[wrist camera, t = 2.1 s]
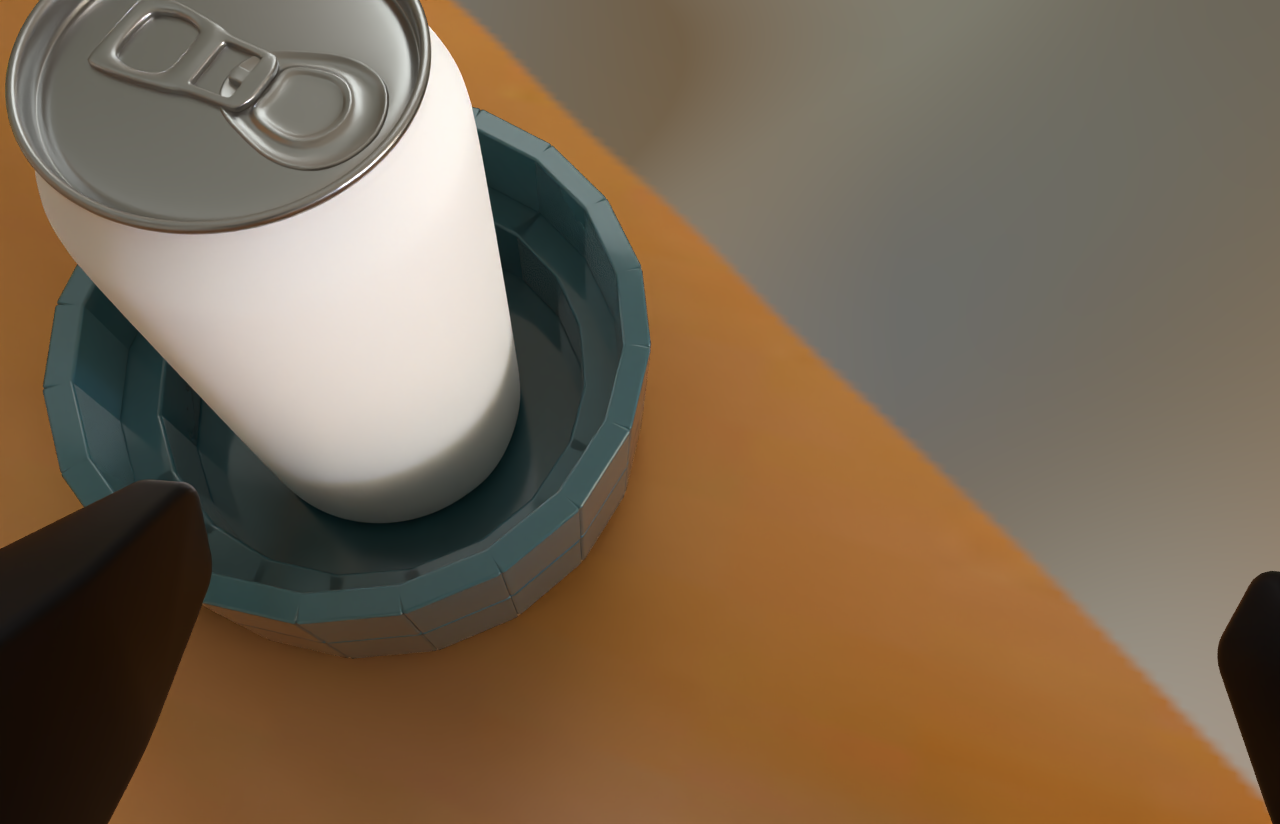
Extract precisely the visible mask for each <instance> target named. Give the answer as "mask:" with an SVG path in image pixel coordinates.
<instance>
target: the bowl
mask: <svg viewBox="0 0 1280 824" xmlns="http://www.w3.org/2000/svg"><path fill="white" fill-rule="evenodd" d="M472 110H473V115H474V119H475V124H476V128H477V133H478V138H479V143H480V149H481V154H482V159H483V165H484V170H485V176H486V181H487V187H488V193H489V198H490V204H491V210H492V215H493V221H494V227H495V232H496V238H497V244H498V250H499V255H500V261H501V267H502V273H503V279H504V285H505V291H506V296H507V302H508V308H509V314H510V320H511V326H512V332H513V338H514V345H515V351H516V357H517V364H518V371H519V379H520V405H519V412H518V416H517V421H516V424H515V428H514V431H513V434H512V437H511V439H510V442H509V444H508V446H507V449H506V451H505V452H504V454H503V456H502V458H501V460H500V461H499V463H498V464H497V466H496V467H495V469H494V470H493V471H492V472H491V474H490V475H489V476H488V477H487V478H486V479H485V480H484V481H483V482H482V483H481V484H480V485H478V486H477V487H476V488H475V489H473V490H472V491H471V492H469V493H468V494H467V495H465V496H464V497H462V498H461V499H459V500H458V501H456V502H454V503H452V504H451V505H449V506H447V507H445V508H443V509H441V510H439V511H436V512H434V513H431V514H428V515H425V516H422V517H419V518H415V519H411V520H406V521H400V522H392V523H366V522H358V521H352V520H347V519H343V518H340V517H337V516H334V515H331V514H328V513H326V512H324V511H321V510H319V509H317V508H316V507H314V506H312V505H310V504H309V503H307V502H306V501H304V500H303V499H301V498H300V497H299V496H297V495H296V494H295V493H294V492H293V491H291V490H290V489H289V488H288V487H287V486H286V485H285V484H284V483H283V482H282V481H281V480H280V479H279V478H278V477H277V476H276V475H275V474H274V473H273V472H272V471H271V470H270V469H269V468H268V467H267V466H266V465H265V464H264V463H263V462H262V461H261V460H260V459H259V458H258V457H257V456H256V455H255V454H254V453H253V452H252V451H251V449H250V448H249V447H248V446H247V445H246V444H245V443H244V442H243V441H242V440H241V439H240V438H239V437H238V436H237V435H236V434H235V433H234V432H233V431H232V430H231V429H230V428H229V427H228V425H227V424H226V423H225V422H224V421H223V420H222V419H221V418H220V417H219V416H218V415H217V414H216V413H215V412H214V411H213V410H212V409H211V408H210V407H209V406H208V404H207V403H206V402H205V401H204V400H203V399H202V398H201V397H200V396H199V395H198V394H197V393H196V392H195V391H194V390H193V389H192V388H191V386H190V385H189V384H188V383H187V382H186V381H185V380H184V379H183V378H182V377H181V376H180V375H179V374H178V373H177V372H176V371H175V370H174V369H173V367H172V366H171V365H170V364H169V363H168V362H167V361H166V360H165V359H164V358H163V357H162V356H161V355H160V354H159V353H158V351H157V350H156V349H155V348H154V347H153V346H152V345H151V344H150V343H149V342H148V341H147V340H146V339H145V338H144V337H143V335H142V334H141V333H140V332H139V331H138V330H137V329H136V328H135V327H134V326H133V325H132V324H131V323H130V322H129V321H128V319H127V318H126V317H125V316H124V315H123V314H122V313H121V312H120V311H119V310H118V309H117V308H116V306H115V305H114V304H113V303H112V302H111V301H110V300H109V299H108V298H107V297H106V296H105V295H104V293H103V292H102V291H101V290H100V289H99V288H98V287H97V286H96V285H95V283H94V282H93V281H92V280H91V279H90V278H89V277H88V275H87V274H86V273H85V272H84V271H83V270H82V268H81V267H80V266H79V265H78V264H77V266H76V267H75V269H74V271H73V273H72V275H71V277H70V279H69V281H68V282H67V284H66V286H65V288H64V290H63V292H62V294H61V296H60V297H59V299H58V301H57V304H58V305H56V307H55V313H54V319H53V326H52V332H51V338H50V344H49V351H48V357H47V363H46V370H45V376H44V382H43V388H44V389H43V395H44V399H45V404H46V408H47V413H48V417H49V422H50V426H51V431H52V435H53V440H54V444H55V449H56V454H57V458H58V463H59V467H60V472H61V473H62V477H63V478H64V480H65V481H66V482H67V484H68V485H69V487H70V488H71V490H72V491H73V492H74V494H75V495H76V497H77V498H78V500H79V501H80V502H81V504H82V505H83V507H86V506H88V505H90V504H92V503H94V502H96V501H98V500H100V499H102V498H104V497H106V496H108V495H110V494H112V493H114V492H116V491H118V490H120V489H122V488H124V487H126V486H128V485H130V484H132V483H134V482H137V481H139V480H163V481H175V482H185V483H188V484H190V485H191V486H193V487H194V488H195V490H196V491H197V493H198V496H199V499H200V503H201V507H202V512H203V517H204V522H205V527H206V531H207V536H208V541H209V546H210V551H211V556H212V575H211V580H210V584H209V587H208V590H207V593H206V595H205V598H204V601H203V603H202V605H203V606H204V607H206V608H208V609H210V610H212V611H214V612H216V613H218V614H220V615H222V616H223V617H225V618H227V619H229V620H231V621H233V622H235V623H237V624H239V625H241V626H242V627H244V628H246V629H248V630H250V631H252V632H254V633H256V634H258V635H259V636H261V637H264V638H266V639H268V640H271V641H275V642H279V643H284V644H288V645H292V646H297V647H301V648H305V649H310V650H314V651H318V652H322V653H327V654H331V655H335V656H340V657H344V658H349V657H350V658H352V659H354V658H364V657H375V656H386V655H397V654H407V653H418V652H429V651H436V650H437V649H438V650H441V649H443V648H445V647H448V646H450V645H452V644H455V643H457V642H459V641H462V640H464V639H467V638H469V637H471V636H474V635H476V634H478V633H481V632H483V631H486V630H488V629H490V628H493V627H495V626H497V625H500V624H502V623H505V622H507V621H509V620H512V619H514V618H516V617H517V616H518V614H522V613H523V612H524V611H525V610H526V609H528V608H529V607H530V606H531V605H532V604H533V603H535V602H536V601H537V600H538V599H539V598H541V597H542V596H543V595H544V594H545V593H547V592H548V591H549V590H550V589H551V588H552V587H554V586H555V585H556V584H557V583H558V582H560V581H561V580H562V579H563V578H564V577H565V576H567V575H568V574H569V573H570V572H571V571H573V570H574V569H575V568H576V567H577V566H578V565H580V563H581V562H582V560H584V559H585V558H586V556H587V555H588V553H589V552H590V550H591V548H592V547H593V545H594V544H595V542H596V540H597V539H598V537H599V536H600V534H601V532H602V531H603V529H604V528H605V526H606V524H607V523H608V521H609V520H610V518H611V516H612V515H613V513H614V512H615V510H616V508H617V507H618V505H619V504H620V502H621V500H622V499H623V497H624V493H625V491H626V489H627V485H628V480H629V476H630V472H631V468H632V463H633V459H634V455H635V451H636V446H637V442H638V438H639V434H640V429H641V425H642V417H643V409H644V400H645V391H646V385H647V376H648V368H649V360H650V351H651V350H650V348H651V341H650V332H649V324H648V315H647V306H646V298H645V289H644V281H643V272H642V270H641V265H640V263H639V261H638V259H637V257H636V255H635V253H634V251H633V249H632V247H631V245H630V243H629V241H628V239H627V237H626V235H625V233H624V231H623V229H622V227H621V225H620V223H619V221H618V219H617V217H616V215H615V213H614V211H613V209H612V207H611V205H610V203H609V201H608V200H607V199H606V198H605V196H604V195H603V194H602V193H601V192H599V191H598V190H597V189H596V188H595V187H594V186H593V185H592V184H591V183H590V182H589V181H588V180H587V179H586V178H585V177H584V176H583V175H582V174H581V173H580V172H579V171H578V170H577V169H576V168H575V167H574V166H573V165H572V164H571V163H570V162H569V161H568V160H567V159H566V158H565V157H564V156H563V155H562V154H561V153H559V152H558V151H557V150H556V149H555V148H554V147H553V146H551V145H550V144H549V143H547V142H545V141H543V140H541V139H540V138H538V137H536V136H534V135H532V134H530V133H528V132H526V131H524V130H522V129H520V128H518V127H516V126H514V125H512V124H510V123H508V122H506V121H504V120H502V119H500V118H498V117H496V116H495V115H493V114H491V113H489V112H487V111H485V110H480V109H478V108H474V107H472Z"/></svg>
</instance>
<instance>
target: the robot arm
mask: <svg viewBox="0 0 1280 824" xmlns="http://www.w3.org/2000/svg"><path fill="white" fill-rule="evenodd" d="M211 575H212V556H211V551H210V546H209V541H208V536H207V531H206V527H205V522H204V517H203V512H202V507H201V503H200V499H199V496H198V493H197V491H196V490H195V488H194V487H193V486H191V485H190V484H188V483H185V482H175V481H163V480H139V481H137V482H134V483H132V484H130V485H128V486H126V487H124V488H122V489H120V490H118V491H116V492H114V493H112V494H110V495H108V496H106V497H104V498H102V499H100V500H98V501H96V502H94V503H92V504H90V505H88V506H86V507H84V508H82V509H80V510H78V511H76V512H74V513H72V514H70V515H68V516H66V517H64V518H62V519H60V520H58V521H56V522H54V523H52V524H50V525H48V526H46V527H44V528H42V529H40V530H38V531H36V532H34V533H32V534H30V535H28V536H25V537H23V538H21V539H19V540H17V541H15V542H13V543H11V544H9V545H7V546H5V547H3V548H1V549H0V824H108V822H109V821H110V819H111V817H112V815H113V813H114V811H115V809H116V807H117V805H118V803H119V801H120V799H121V797H122V795H123V793H124V791H125V790H126V788H127V786H128V784H129V782H130V780H131V778H132V776H133V774H134V772H135V770H136V768H137V766H138V764H139V762H140V760H141V758H142V755H143V753H144V751H145V749H146V747H147V745H148V742H149V740H150V738H151V735H152V733H153V730H154V728H155V726H156V723H157V721H158V718H159V716H160V713H161V710H162V708H163V705H164V703H165V700H166V697H167V695H168V692H169V690H170V687H171V684H172V682H173V679H174V676H175V674H176V671H177V669H178V666H179V663H180V661H181V658H182V656H183V653H184V650H185V648H186V645H187V642H188V640H189V637H190V635H191V632H192V629H193V627H194V624H195V622H196V619H197V616H198V614H199V611H200V609H201V606H202V603H203V601H204V598H205V595H206V593H207V590H208V587H209V584H210V580H211ZM1218 666H1219V669H1220V673H1221V676H1222V679H1223V682H1224V685H1225V688H1226V691H1227V693H1228V696H1229V699H1230V702H1231V705H1232V708H1233V711H1234V714H1235V717H1236V719H1237V723H1238V726H1239V729H1240V731H1241V734H1242V737H1243V740H1244V743H1245V746H1246V749H1247V752H1248V755H1249V758H1250V761H1251V763H1252V766H1253V769H1254V772H1255V775H1256V778H1257V781H1258V784H1259V787H1260V790H1261V793H1262V796H1263V798H1264V801H1265V804H1266V807H1267V810H1268V813H1269V815H1270V818H1271V821H1272V823H1273V824H1280V572H1277V571H1269V572H1265V573H1262V574H1260V575H1259V576H1257V577H1256V578H1255V579H1253V581H1252V582H1251V584H1250V585H1249V587H1248V589H1247V591H1246V592H1245V594H1244V596H1243V598H1242V600H1241V602H1240V603H1239V605H1238V607H1237V609H1236V611H1235V613H1234V614H1233V616H1232V618H1231V620H1230V622H1229V623H1228V625H1227V627H1226V629H1225V631H1224V632H1223V634H1222V636H1221V639H1220V641H1219V646H1218Z"/></svg>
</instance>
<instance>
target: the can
mask: <svg viewBox="0 0 1280 824" xmlns="http://www.w3.org/2000/svg"><path fill="white" fill-rule="evenodd" d="M5 98H6V108H7V114H8V119H9V122H10V126H11V129H12V132H13V134H14V137H15V139H16V141H17V143H18V145H19V147H20V149H21V151H22V152H23V154H24V156H25V157H26V159H27V160H28V162H29V163H30V164H31V166H32V167H33V168H34V169H35V174H36V181H37V186H38V190H39V194H40V197H41V201H42V204H43V207H44V210H45V213H46V215H47V218H48V220H49V222H50V224H51V226H52V228H53V230H54V231H55V233H56V235H57V236H58V238H59V239H60V241H61V242H62V244H63V245H64V246H65V248H66V249H67V251H68V252H69V254H70V255H71V256H72V258H73V259H74V260H75V262H76V263H77V264H78V265H79V266H80V267H81V268H82V270H83V271H84V272H85V273H86V274H87V275H88V277H89V278H90V279H91V280H92V281H93V282H94V283H95V285H96V286H97V287H98V288H99V289H100V290H101V291H102V292H103V293H104V295H105V296H106V297H107V298H108V299H109V300H110V301H111V302H112V303H113V304H114V305H115V306H116V308H117V309H118V310H119V311H120V312H121V313H122V314H123V315H124V316H125V317H126V318H127V319H128V321H129V322H130V323H131V324H132V325H133V326H134V327H135V328H136V329H137V330H138V331H139V332H140V333H141V334H142V335H143V337H144V338H145V339H146V340H147V341H148V342H149V343H150V344H151V345H152V346H153V347H154V348H155V349H156V350H157V351H158V353H159V354H160V355H161V356H162V357H163V358H164V359H165V360H166V361H167V362H168V363H169V364H170V365H171V366H172V367H173V369H174V370H175V371H176V372H177V373H178V374H179V375H180V376H181V377H182V378H183V379H184V380H185V381H186V382H187V383H188V384H189V385H190V386H191V388H192V389H193V390H194V391H195V392H196V393H197V394H198V395H199V396H200V397H201V398H202V399H203V400H204V401H205V402H206V403H207V404H208V406H209V407H210V408H211V409H212V410H213V411H214V412H215V413H216V414H217V415H218V416H219V417H220V418H221V419H222V420H223V421H224V422H225V423H226V424H227V425H228V427H229V428H230V429H231V430H232V431H233V432H234V433H235V434H236V435H237V436H238V437H239V438H240V439H241V440H242V441H243V442H244V443H245V444H246V445H247V446H248V447H249V448H250V449H251V451H252V452H253V453H254V454H255V455H256V456H257V457H258V458H259V459H260V460H261V461H262V462H263V463H264V464H265V465H266V466H267V467H268V468H269V469H270V470H271V471H272V472H273V473H274V474H275V475H276V476H277V477H278V478H279V479H280V480H281V481H282V482H283V483H284V484H285V485H286V486H287V487H288V488H289V489H290V490H291V491H293V492H294V493H295V494H296V495H297V496H299V497H300V498H301V499H303V500H304V501H306V502H307V503H309V504H310V505H312V506H314V507H316V508H317V509H319V510H321V511H324V512H326V513H328V514H331V515H334V516H337V517H340V518H343V519H347V520H352V521H358V522H366V523H392V522H400V521H406V520H411V519H415V518H419V517H422V516H425V515H428V514H431V513H434V512H436V511H439V510H441V509H443V508H445V507H447V506H449V505H451V504H452V503H454V502H456V501H458V500H459V499H461V498H462V497H464V496H465V495H467V494H468V493H469V492H471V491H472V490H473V489H475V488H476V487H477V486H478V485H480V484H481V483H482V482H483V481H484V480H485V479H486V478H487V477H488V476H489V475H490V474H491V472H492V471H493V470H494V469H495V467H496V466H497V464H498V463H499V461H500V460H501V458H502V456H503V454H504V452H505V451H506V449H507V446H508V444H509V442H510V439H511V437H512V434H513V431H514V428H515V424H516V421H517V416H518V412H519V405H520V379H519V371H518V364H517V357H516V351H515V345H514V338H513V332H512V326H511V320H510V314H509V308H508V302H507V296H506V291H505V285H504V279H503V273H502V267H501V261H500V255H499V250H498V244H497V238H496V232H495V227H494V221H493V215H492V210H491V204H490V198H489V193H488V187H487V181H486V176H485V170H484V165H483V159H482V154H481V149H480V143H479V138H478V133H477V128H476V124H475V119H474V115H473V110H472V106H471V102H470V98H469V95H468V92H467V89H466V86H465V83H464V81H463V78H462V76H461V73H460V71H459V69H458V67H457V65H456V63H455V61H454V59H453V58H452V56H451V54H450V53H449V51H448V50H447V48H446V47H445V46H444V44H443V43H442V42H441V40H440V39H439V38H438V36H437V35H436V34H435V33H434V32H433V31H432V29H431V28H430V27H429V26H428V23H427V19H426V16H425V13H424V10H423V8H422V5H421V3H420V1H419V0H39V2H38V3H37V4H36V6H35V7H34V8H33V10H32V11H31V13H30V14H29V16H28V17H27V19H26V21H25V22H24V24H23V26H22V28H21V30H20V32H19V34H18V36H17V38H16V41H15V43H14V46H13V48H12V51H11V55H10V58H9V62H8V67H7V73H6V82H5Z"/></svg>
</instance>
